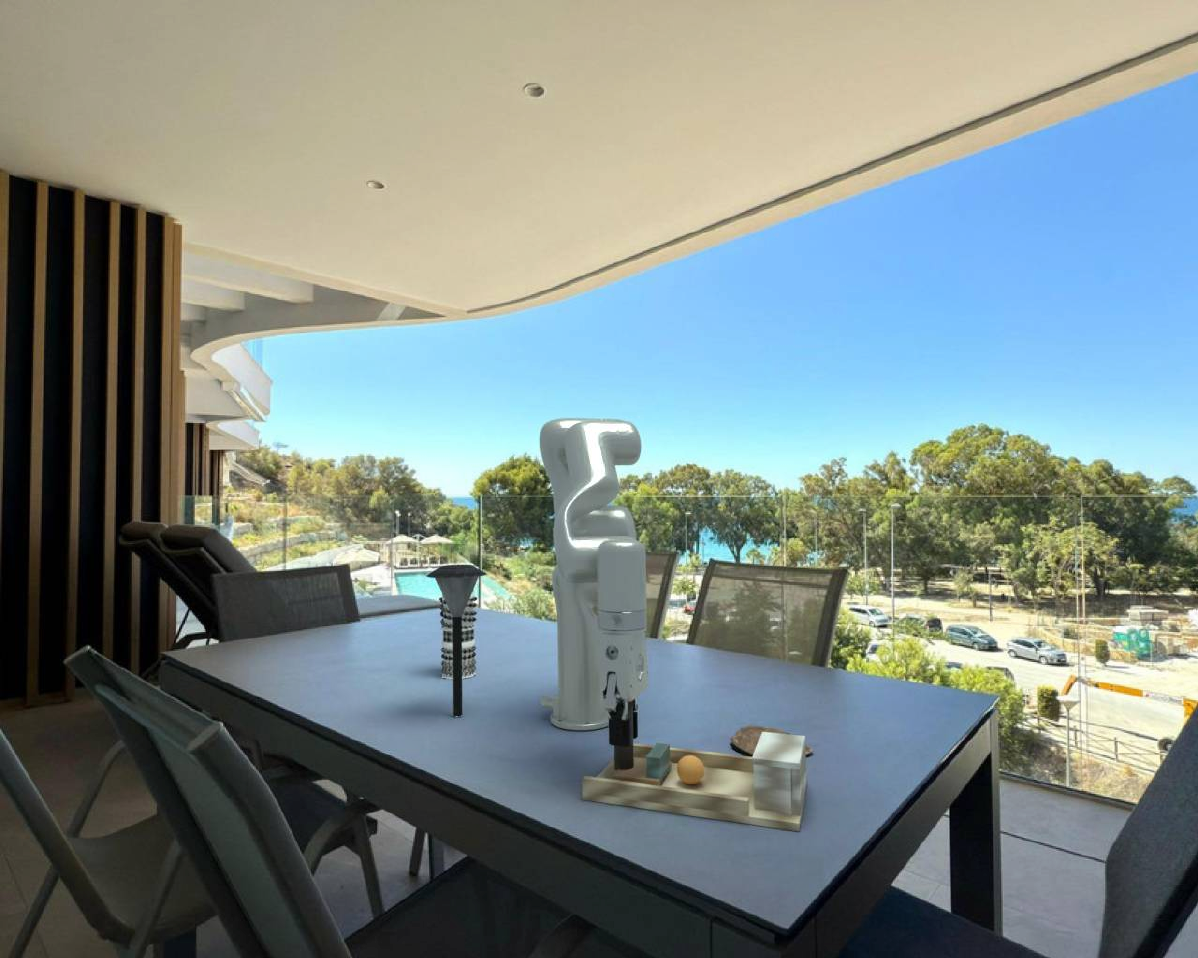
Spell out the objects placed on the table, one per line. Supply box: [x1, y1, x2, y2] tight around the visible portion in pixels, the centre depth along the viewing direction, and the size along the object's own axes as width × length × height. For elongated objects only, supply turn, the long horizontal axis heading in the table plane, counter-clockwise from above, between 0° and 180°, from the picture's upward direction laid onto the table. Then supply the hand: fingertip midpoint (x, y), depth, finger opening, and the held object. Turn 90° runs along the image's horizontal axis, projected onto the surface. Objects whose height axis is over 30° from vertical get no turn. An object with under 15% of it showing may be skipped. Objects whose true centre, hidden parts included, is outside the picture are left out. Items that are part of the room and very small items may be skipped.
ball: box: [677, 755, 704, 785], centre depth 102 cm, size 4×4×4 cm
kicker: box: [612, 701, 672, 786], centre depth 105 cm, size 8×8×11 cm
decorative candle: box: [438, 589, 478, 679], centre depth 171 cm, size 9×9×25 cm
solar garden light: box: [425, 564, 488, 716], centre depth 139 cm, size 12×12×30 cm
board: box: [581, 732, 808, 832], centre depth 102 cm, size 30×16×8 cm, turn 70°
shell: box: [730, 724, 814, 758], centre depth 119 cm, size 12×13×4 cm
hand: (623, 740), depth 106 cm, fingers closed on kicker, 3 cm apart
